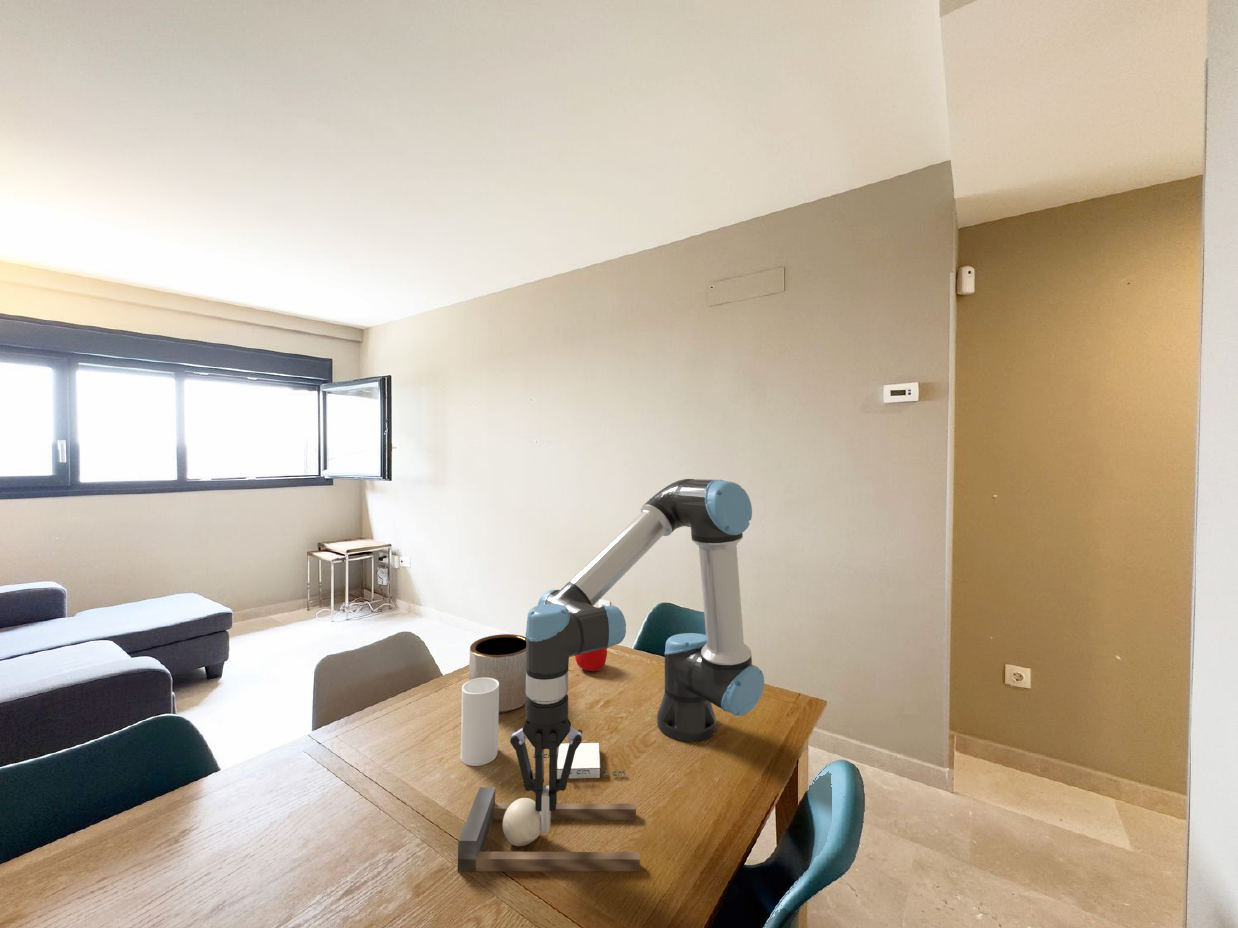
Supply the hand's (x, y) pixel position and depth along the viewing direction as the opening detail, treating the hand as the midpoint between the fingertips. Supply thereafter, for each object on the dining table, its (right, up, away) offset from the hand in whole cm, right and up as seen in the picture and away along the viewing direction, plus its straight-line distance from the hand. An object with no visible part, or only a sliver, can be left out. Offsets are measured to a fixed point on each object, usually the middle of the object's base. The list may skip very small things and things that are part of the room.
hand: (545, 827), depth 85 cm
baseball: (-4, -3, 0) cm, 5 cm away
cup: (-19, -3, +25) cm, 32 cm away
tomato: (+4, -3, +72) cm, 73 cm away
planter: (-21, -3, +51) cm, 55 cm away
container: (+4, -3, +21) cm, 22 cm away
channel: (+1, -3, 0) cm, 3 cm away
